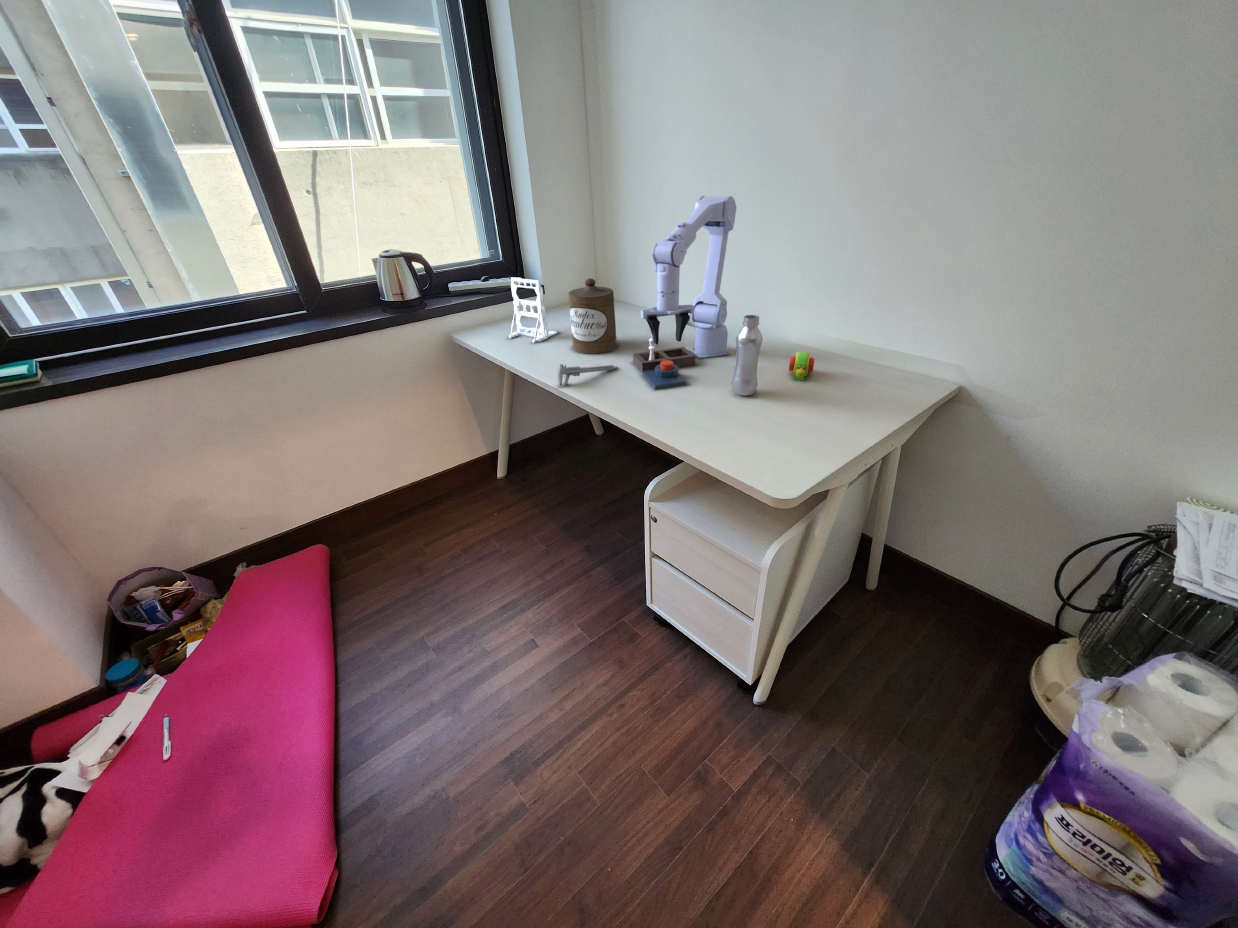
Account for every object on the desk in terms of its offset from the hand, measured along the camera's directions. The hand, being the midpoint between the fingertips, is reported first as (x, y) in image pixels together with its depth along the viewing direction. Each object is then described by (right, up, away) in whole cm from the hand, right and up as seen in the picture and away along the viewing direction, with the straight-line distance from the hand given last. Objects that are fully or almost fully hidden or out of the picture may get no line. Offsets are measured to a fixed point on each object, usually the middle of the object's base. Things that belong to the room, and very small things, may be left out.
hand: (667, 342), depth 132 cm
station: (-1, -10, +4) cm, 11 cm away
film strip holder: (-45, +14, +45) cm, 64 cm away
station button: (0, -7, +4) cm, 8 cm away
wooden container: (-22, +6, +31) cm, 38 cm away
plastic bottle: (+20, -15, -6) cm, 25 cm away
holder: (0, -3, +15) cm, 15 cm away
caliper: (-22, -8, +8) cm, 25 cm away
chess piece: (-3, -4, +14) cm, 15 cm away
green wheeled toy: (+39, -7, +7) cm, 40 cm away
